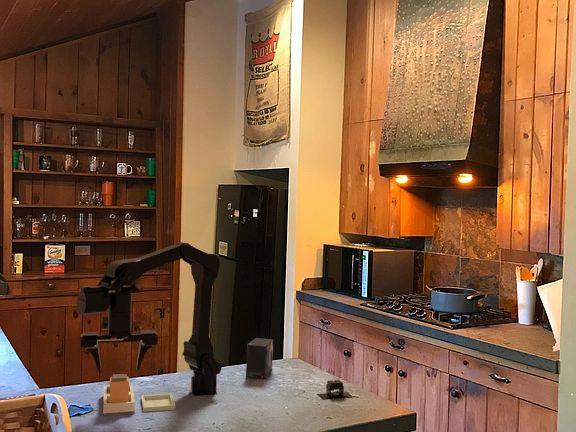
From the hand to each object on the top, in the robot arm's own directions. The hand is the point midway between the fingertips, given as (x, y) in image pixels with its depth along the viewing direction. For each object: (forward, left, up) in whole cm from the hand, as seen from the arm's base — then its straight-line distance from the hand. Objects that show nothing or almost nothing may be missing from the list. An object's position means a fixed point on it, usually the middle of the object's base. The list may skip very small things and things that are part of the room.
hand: (118, 372), depth 155 cm
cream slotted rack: (0, -4, -10) cm, 11 cm away
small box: (-44, -26, -11) cm, 52 cm away
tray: (-10, -2, -10) cm, 15 cm away
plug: (0, 0, -9) cm, 9 cm away
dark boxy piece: (-59, -1, -11) cm, 60 cm away
